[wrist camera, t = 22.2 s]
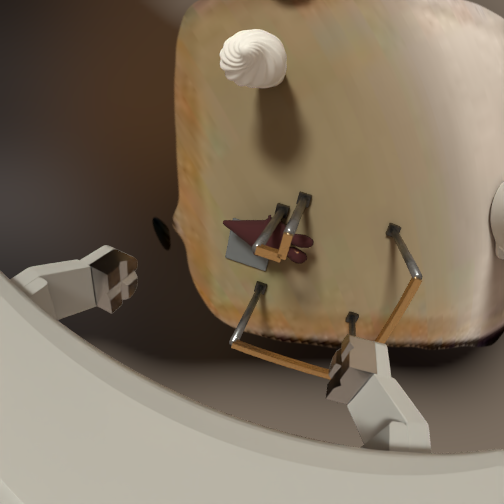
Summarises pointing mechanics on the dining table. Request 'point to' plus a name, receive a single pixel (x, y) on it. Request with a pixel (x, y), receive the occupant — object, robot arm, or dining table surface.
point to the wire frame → (277, 255)
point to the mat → (244, 252)
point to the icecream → (254, 228)
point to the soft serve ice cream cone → (254, 59)
